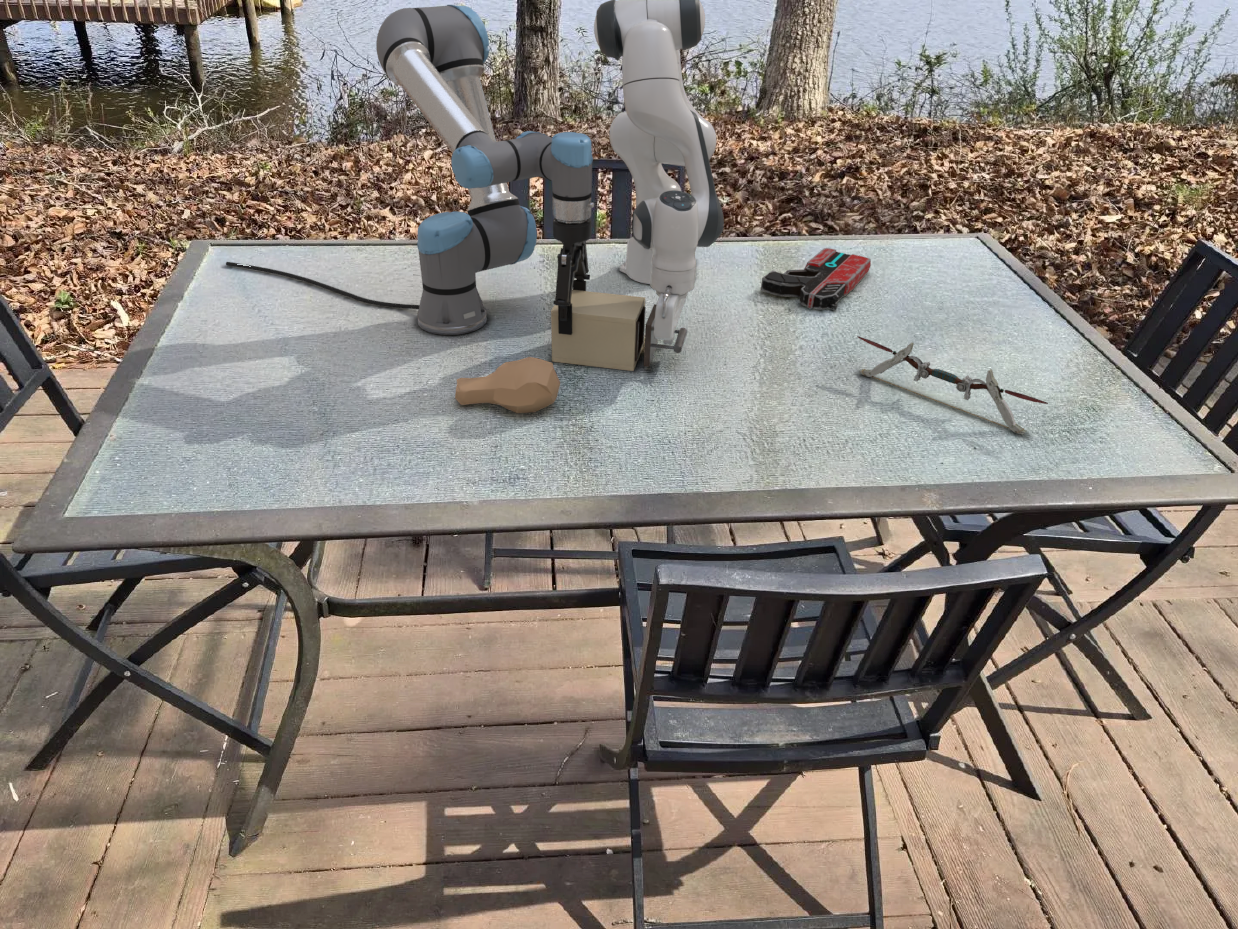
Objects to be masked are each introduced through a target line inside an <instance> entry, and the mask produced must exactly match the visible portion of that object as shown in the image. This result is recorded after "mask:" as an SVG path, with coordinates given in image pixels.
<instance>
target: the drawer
mask: <svg viewBox="0 0 1238 929" xmlns="http://www.w3.org/2000/svg"><path fill="white" fill-rule="evenodd" d="M656 305H657V303H655V304H653V306H652V308H651V311H650V313H649V315H648V318H647V320H646V309H647V308H646V306H645V307H643V308H642V311H641V313H640V315H639V317H638V320H637V322H636V341H635V361H637V360H638V361H639V358H640V356H641V353H642V351H644V352H643V367H645V368H650V367H651V364H652V361H653V358H654V356H655V354H656V350H657V349H665V350H673V352H674V353H675V354H680V353H681V352H682V350H683V347H684V345H685V341H686V337H687V335H688V329H687V328H686V327H681V328H679V329H675V333H674V334H677V335H676V338H675V342H674V345H666V344H660V343H658V342H659V339H655V338H654V322H655V311H656ZM642 347H643V348H644V350H643V349H642ZM641 350H642V351H641ZM640 352H641V353H640ZM639 355H640V356H639ZM638 357H639V358H638ZM638 361H637V362H638Z"/></svg>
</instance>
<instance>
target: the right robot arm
mask: <svg viewBox="0 0 1238 929" xmlns="http://www.w3.org/2000/svg"><path fill="white" fill-rule="evenodd" d="M595 13H596V14H595V18H594V23H593V33H594V34H593V35H594V38H595V42H596V44H597V46H598V47H599V50H600V52H601V53H602V54H603V55H604V56H605V57H607V58H611V59H614V60H615V61H620V59H621V58H622V60H621V61H622V63H621V64H622V65H621V77H622V93H623V94H622V95H623V104H624V107H625V108H624V109H625V111H622V112H619V113H618V114H617V115H616V116H615V117H614V118H613V120H612V122H611V124H610V126H609V133H608V136H609V137H608V138H609V143H610V146H611V148H612V150H613V152H614V153H615V154H616V155H617V156H618V157H619V158H620V159H621V161H623V163H624V164H625V165H626V167H627V169H628V171H629V173H630V175H631V178H632V180H633V183H634V188H635V189H634V190H635V209H633V212H632V218H631V233H632V236H631V237H630V238H629V239H628V240H627V243H626V244H627V245H626V256H625V262H624V263H623V264H621V265H620V266H619V271H620V272H622V273H624V274H626V275H627V277H628V278H629V279H631V280H633V281H635V282H638V283H641V284H645V285H646V284H647V285H649V286H650V287H651V288H652V289H653V290H654V291H655V294H656V296H657V297H658V299H657V301H656V311H655V322H654V338H655V339H658V341H659V340H660V341H663V345H670V346H672V344H673V342H674V339H675V334H676V333H675V330H677V326H678V323H679V321H680V318H681V315H682V313H683V310H684V306H685V304H686V302H687V297H688V294H689V293H690V292H691V291H693V290H694V289H695V285H696V274H697V259H696V258H697V257H696V250H697V248H709V247H710V246H712V245H713V244H714V243H715V242H716V241H717V240H718V239H719V238H720V236H721V235H722V233H723V231H724V227H725V218H724V213H723V209H722V205H721V203H720V202H721V201H720V200H719V197H718V194H717V191H716V186H715V180H714V177H713V172H712V167H711V162H710V160H711V159H712V157H713V155H714V154H715V151H716V149H717V134H716V133H717V132H716V130H715V127H714V126H713V125H712V123H711V122H709V121H708V120H707V119H706V118H704V117H703V116H702V115H700V113H699V112H698V111H697V110H696V109H695V107H694V106H693V105H692V103H691V102H690V99H689V98H688V96H687V93H686V90H685V86H684V80H683V74H682V63H681V62H682V61H681V51H680V50H682V51H686V50H690V49H693V48H695V47H696V46H698V44H699V43H700V42H701V41H702V37H703V34H704V31H705V27H706V14H705V9H704V6H703V5H702V2H701V0H607V1H605V2H602V3H600V5H599V6H598V8H597V9H596V12H595ZM663 165H672V166H679V167H685V171H686V175H687V179H688V184H689V189H690V193H688V192H687V191H682V188H681V186H680V185H679V183H678V182H677V181H676V180H675V179H674V178H672V177H671V176H670V175H668V173H667V172H666V170H665V169H664V167H663Z"/></svg>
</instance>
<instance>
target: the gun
mask: <svg viewBox="0 0 1238 929" xmlns="http://www.w3.org/2000/svg"><path fill="white" fill-rule="evenodd" d="M871 260H872V259H871V258H869V257H867V256H862V255H859V254H858V255H857V254H853V253H852V254H849V253H845V252H840V251H837V249H835V248H831V247H823V248H822V249H821V250H820V251H818V253H817V254H815V255H814V256H813V257H811V258H810V259H809V260H808V261H807V262H806V264H805V267H804V269H787V270H786V271H784V273H782V272H779V271H776V270H771V271H770V272H768V273H767V274H765V275H764V276H762V277H761V285H760V291H762V292H763V293H766V294H771V295H774V296H777V297H785V298H786V297H787V298H790V297H791V298H799V299H798V302H799V303H800V304H801V306H805V307H806V308H807V309H815V310H818V311H819V310H826V309H829V310H833V311H836V310H837V309H838V304H837V303H838V302H839V301H840V300H841V299H842V298H843V297H846V296H847V295H848V294H849V293H851V291H853V290H854V289H855V288H856V287H857V286H858V284H859V283H860V282H861V281H862V280H863V278H865V276H866V275H867V274H868V273H869V271H870V269H871V266H872V261H871Z"/></svg>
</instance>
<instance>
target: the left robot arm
mask: <svg viewBox="0 0 1238 929" xmlns="http://www.w3.org/2000/svg"><path fill="white" fill-rule="evenodd" d="M488 34H489V33H488V31H487V28H486V25H485V24H484V21H483V20H482V18H481V17H480V15H479V14H478V13H477V12H476V11H475V10H473V8H471V7H470V6H466V5H454V4H447V5H438V6H423V7H403V8H400V9H397V10H394V11H393V12H392V13H390V14H389V15H388V16H386V18H385V19H384V20H383V22H382V23H381V25H380V27H379V29H378V32H377V36H376V42H375V43H376V44H375V46H376V48H375V50H376V55H377V60H378V62H379V65H380V67H381V69H382V70H383V72H384V73H385V75H386V76H387V78H389V80H390V81H391V83H393V84H394V85H397V86H399V87H402V89H403V90H404V92H405V93H406V95H408V97H409V98H410V99H411V101H412V102H413V103H414V105H415V106H416V107H417V109H418V110H419V111H420V112H421V114H422V115H423V117H424V118H425V119H426V121H427V122H428V123H429V125H430V126H431V127H432V129H433V130H434V131H435V133H436V134H437V135H438V136H439V138H440V139H441V140H442V142H443V143H444V144H445V146H446V147H447V148H448V150H449V151H450V152H451V153H452V155H451V159H450V161H451V162H450V163H451V164H450V165H451V171H452V174H454V177H455V181H456V182H457V184H458V185H459V186H460V187H462V188H464V189H467V190H468V194H469V197H470V202H469V203H470V204H469V205H468V207H467V208H466V212H467V213H466V212H464V211H457V210H455V211H454V210H453V211H443V212H438V213H436V214H432V215H429V216H427V217H426V218H424V220H422V221H421V222H420V224H419V225H418V227H417V230H416V231H417V232H416V233H417V243H416V246H417V247H416V248H417V250H418V258H419V259H418V260H419V267H420V275H421V276H420V278H421V284H422V292H421V297H420V302H419V304H409V303H408V304H406V303H397V302H396V303H395V302H387V301H379V300H374V299H369V298H367V297H366V298H365V297H362V296H359V295H357V294H355V293H350V292H348V291H345V290H343V289H339V288H337V287H334V286H331V285H329V284H326V283H323V282H320V281H317V280H313V279H311V278H307V277H305V276H301V275H298V274H293V273H290V272H287V271H281V270H277V269H273V268H267V267H262V266H258V265H257V266H256V265H251V264H248V265H249V266H251V267H249V266H243V265H237V264H240V263H239V262H238V263H237V262H232V261H226V262H225V265H226V266H229V267H234V268H239V269H240V268H241V269H245V270H246V269H247V270H251V271H258V272H264V273H269V274H274V275H278V276H281V277H282V276H283V277H287V278H290V279H295V280H297V281H301V282H305V283H308V284H311V285H314V286H316V287H319V288H322V289H325V290H328V291H331V292H333V293H337V294H339V295H341V296H345V297H347V298H351V299H353V300H356V301H357V302H362V303H365V304H369V305H373V306H378V307H379V306H380V307H385V308H396V309H406V310H408V309H409V310H417V315H416V318H417V325H418V326H419V328H420V329H421V330H423V331H424V332H427V333H430V334H433V335H440V336H459V335H465V334H469V333H473V332H476V331H477V330H480V329H481V328H483V327H484V326H485V325H486V323H487V320H488V316H487V310H486V306H485V304H484V302H483V299H482V298H481V295H480V293H479V291H478V288H477V278H476V277H477V276H476V274H477V273H479V272H485V271H488V270H492V269H497V268H501V267H505V266H509V265H510V266H511V265H515V264H517V263H520V262H523V261H526V260H527V259H529V258H530V257H531V256H532V255H533V253H534V251H535V249H536V248H535V247H536V245H537V240H538V239H537V238H538V230H537V224H536V220H535V217H534V215H533V214H532V213H531V211H530V209H528V208H527V207H524V206H521V205H520V200H519V198H518V196H516V195H514V194H513V193H511V192H510V189H509V186H508V183H510V182H511V183H512V182H517V181H522V180H528V179H533V178H543V179H546V180H548V181H551V190H552V191H551V192H552V194H551V196H552V198H551V200H552V201H551V202H552V205H551V206H552V217H553V219H552V237H553V238H554V239H555V240H556V241H558V242H561V244H562V247H561V248H560V251H559V253H558V254H557V272H556V286H555V299H554V300H553V305H558V334H567V335H572V303H571V296H572V290H580V291H587V281H590V280H591V274H589V271H590V269H589V261H588V251H587V241H589V240H590V239H591V237H592V219H591V217H592V208H594V207H595V203H594V202H592V192H593V190H592V186H593V160H594V158H593V150H592V139H591V138H590V136H588V135H587V134H585V133H582V132H575V131H563V132H559V133H556V134H554V135H553V136H552V137H551V136H549V135H547V134H545V133H542V132H539V131H533V130H527V131H523V132H522V133H521V134H519V135H518V136H516V138H513V139H506V140H498V141H497V139H496V136H495V132H494V127H493V124H492V120H491V116H490V112H489V108H488V104H487V100H486V97H485V92H484V88H483V85H482V81H481V78H482V75H483V73H484V72H485V69H486V68H485V65H484V63H485V62H486V61H487V60H488V57H489V56H490V55H489V54H490V49H489V46H490V40H489V35H488Z"/></svg>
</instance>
